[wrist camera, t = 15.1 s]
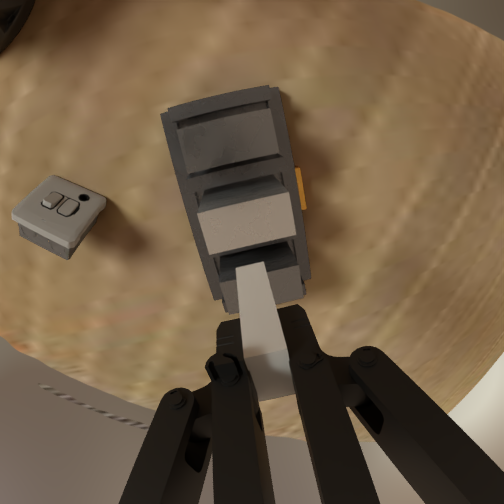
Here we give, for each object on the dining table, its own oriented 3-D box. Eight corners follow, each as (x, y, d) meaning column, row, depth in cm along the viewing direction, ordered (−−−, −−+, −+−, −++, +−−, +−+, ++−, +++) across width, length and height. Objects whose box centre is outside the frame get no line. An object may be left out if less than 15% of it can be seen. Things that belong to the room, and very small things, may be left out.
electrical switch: (109, 197, 33) (75, 230, 25) (100, 231, 35) (69, 270, 27) (52, 172, 30) (10, 197, 22) (46, 206, 33) (8, 237, 24)
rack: (163, 114, 29) (142, 111, 21) (280, 87, 29) (299, 75, 21) (214, 294, 40) (213, 336, 32) (312, 271, 39) (332, 308, 31)
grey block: (204, 190, 33) (197, 213, 25) (272, 174, 33) (288, 192, 25) (212, 222, 34) (209, 254, 26) (279, 207, 34) (296, 234, 26)
